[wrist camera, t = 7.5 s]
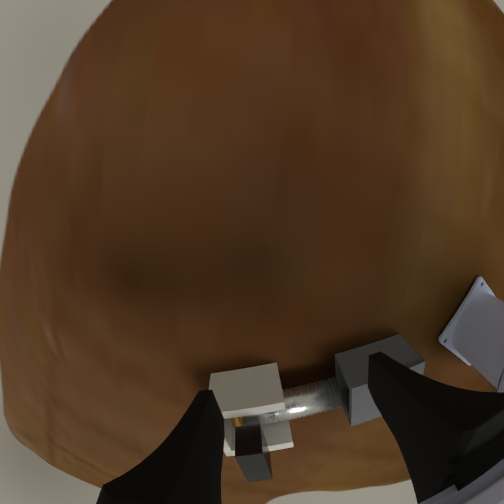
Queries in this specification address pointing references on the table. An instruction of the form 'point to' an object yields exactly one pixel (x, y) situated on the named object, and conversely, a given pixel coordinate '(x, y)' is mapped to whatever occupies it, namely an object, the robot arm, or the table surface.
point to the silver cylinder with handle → (296, 406)
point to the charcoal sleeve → (356, 374)
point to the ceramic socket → (251, 402)
